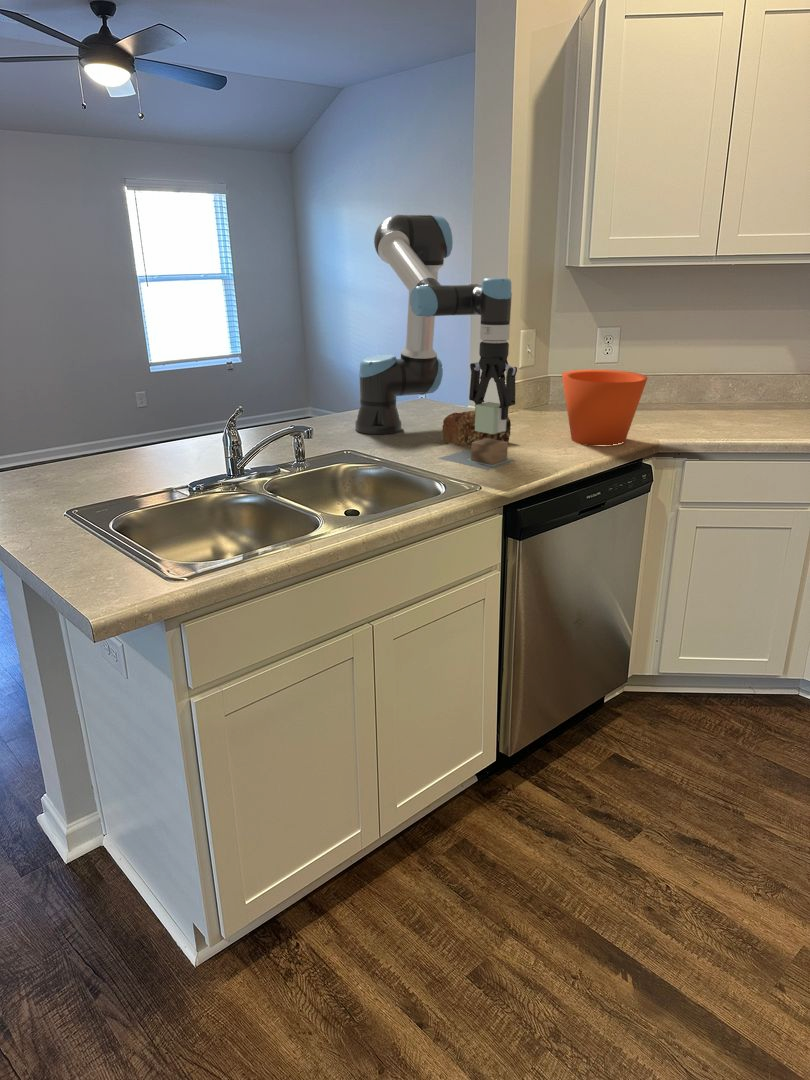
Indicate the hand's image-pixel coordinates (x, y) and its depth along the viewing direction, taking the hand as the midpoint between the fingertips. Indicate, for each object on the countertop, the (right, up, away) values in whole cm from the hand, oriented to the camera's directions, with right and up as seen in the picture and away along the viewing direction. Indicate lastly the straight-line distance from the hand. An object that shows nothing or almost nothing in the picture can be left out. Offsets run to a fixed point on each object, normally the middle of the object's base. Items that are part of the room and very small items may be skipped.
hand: (490, 429), depth 200 cm
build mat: (-3, -9, +4) cm, 10 cm away
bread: (-1, -1, +27) cm, 27 cm away
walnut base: (0, -8, +3) cm, 9 cm away
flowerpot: (+37, +1, +30) cm, 48 cm away
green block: (0, 0, 0) cm, 0 cm away
